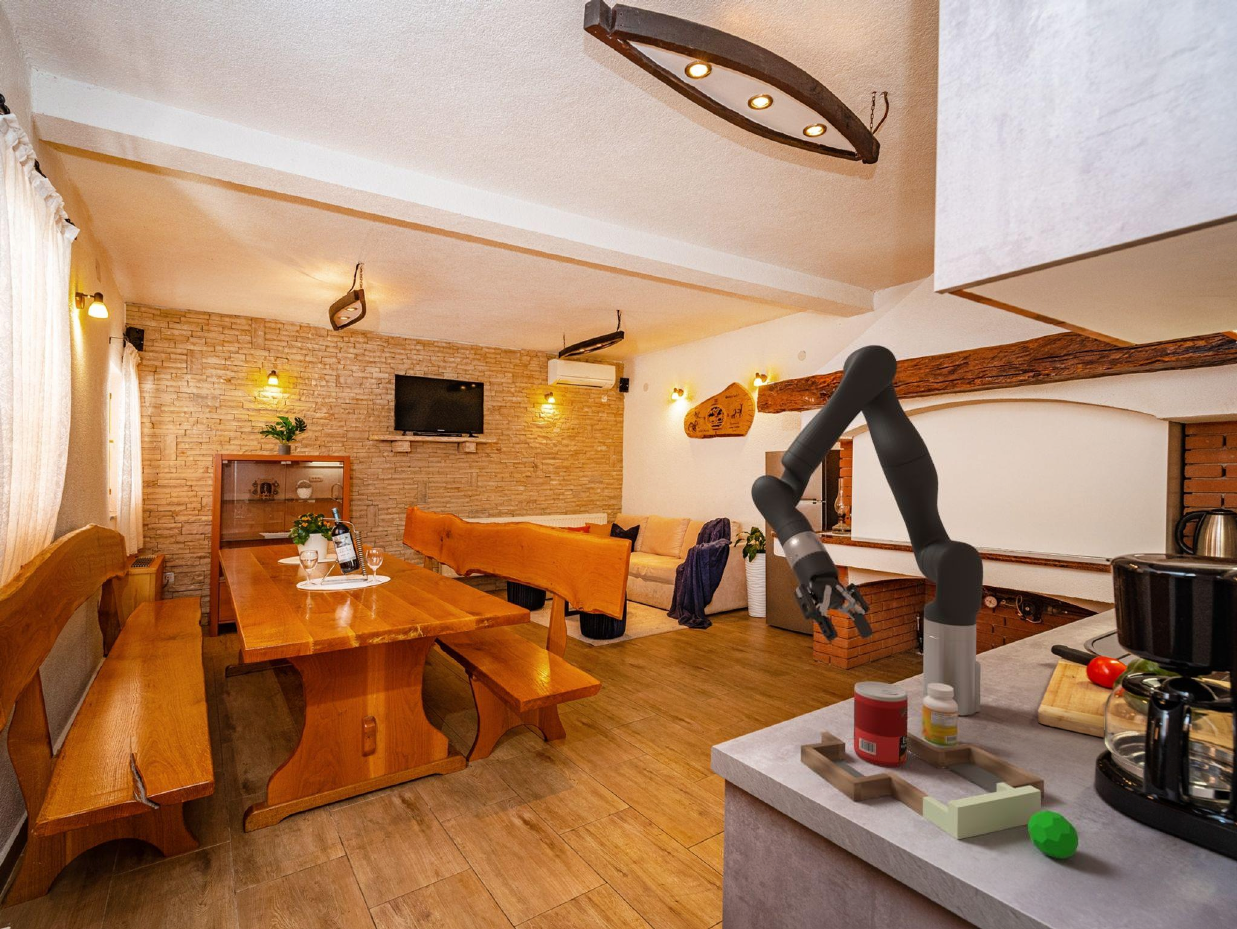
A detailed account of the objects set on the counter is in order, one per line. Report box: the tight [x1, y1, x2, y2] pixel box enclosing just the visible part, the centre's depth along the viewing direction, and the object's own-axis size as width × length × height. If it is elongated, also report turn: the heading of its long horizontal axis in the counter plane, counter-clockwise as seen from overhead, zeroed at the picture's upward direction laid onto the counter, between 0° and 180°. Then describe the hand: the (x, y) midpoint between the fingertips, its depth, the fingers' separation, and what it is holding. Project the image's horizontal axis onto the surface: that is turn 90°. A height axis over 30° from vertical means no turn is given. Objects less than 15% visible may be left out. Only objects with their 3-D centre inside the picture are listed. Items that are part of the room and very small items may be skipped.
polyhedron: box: [1027, 809, 1079, 860], centre depth 74 cm, size 5×5×5 cm
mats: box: [830, 758, 1007, 793], centre depth 92 cm, size 17×24×1 cm
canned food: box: [853, 680, 909, 768], centre depth 100 cm, size 8×8×11 cm
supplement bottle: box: [921, 683, 959, 748], centre depth 105 cm, size 5×5×10 cm
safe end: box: [922, 782, 1042, 840], centre depth 82 cm, size 6×14×4 cm, turn 109°
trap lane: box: [800, 731, 1045, 817], centre depth 94 cm, size 23×27×2 cm
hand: (851, 637), depth 107 cm, fingers open, 8 cm apart
